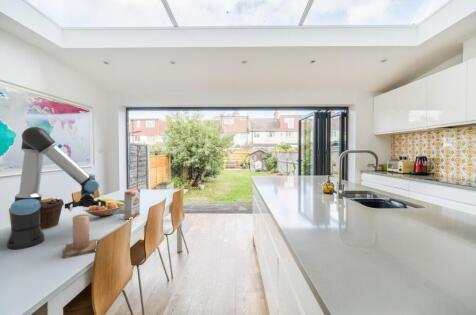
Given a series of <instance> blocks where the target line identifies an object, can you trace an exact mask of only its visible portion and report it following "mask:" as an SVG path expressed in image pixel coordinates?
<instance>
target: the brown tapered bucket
mask: <svg viewBox="0 0 476 315" xmlns="http://www.w3.org/2000/svg"><path fill="white" fill-rule="evenodd" d="M63 206H65V203H64V200H63V199H62V198H59V199H58V198H54V199H52V200H49V201H41V208H40V227H41V230H43V229H49V228H53V227H56V226H57V225H59V222H60V216H61V214H62V209H63Z"/></svg>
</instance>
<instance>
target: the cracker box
mask: <svg viewBox="0 0 476 315" xmlns="http://www.w3.org/2000/svg"><path fill="white" fill-rule="evenodd" d="M123 196H124V200H123V201H124V204H123V205H124V214H123V218H124V220H130V219H129V218H130V217H133V219H134V218H136V217H137V216H139V215H140V213H141V212H140V210H141V209H140V208H141V188H132V189H129V190H126V191H124V195H123Z"/></svg>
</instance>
